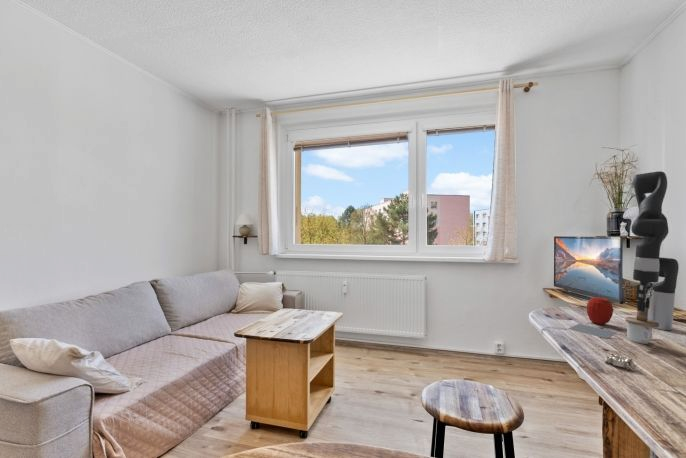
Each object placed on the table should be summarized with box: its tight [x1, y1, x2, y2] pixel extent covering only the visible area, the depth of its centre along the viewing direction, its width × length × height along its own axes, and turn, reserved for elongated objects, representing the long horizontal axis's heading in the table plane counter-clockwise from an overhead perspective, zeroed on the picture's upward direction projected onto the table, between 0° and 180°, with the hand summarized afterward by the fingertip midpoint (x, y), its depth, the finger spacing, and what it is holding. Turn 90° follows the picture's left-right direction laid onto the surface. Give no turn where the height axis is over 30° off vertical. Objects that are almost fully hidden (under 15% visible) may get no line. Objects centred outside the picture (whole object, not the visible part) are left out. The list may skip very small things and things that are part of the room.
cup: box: [626, 321, 654, 345], centre depth 134 cm, size 11×8×8 cm
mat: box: [567, 323, 618, 340], centre depth 146 cm, size 15×14×1 cm
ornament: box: [604, 352, 637, 372], centre depth 109 cm, size 8×7×4 cm
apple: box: [586, 294, 614, 326], centre depth 159 cm, size 10×10×14 cm
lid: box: [625, 308, 659, 327], centre depth 134 cm, size 10×10×6 cm
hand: (643, 309), depth 134 cm, fingers open, 8 cm apart
